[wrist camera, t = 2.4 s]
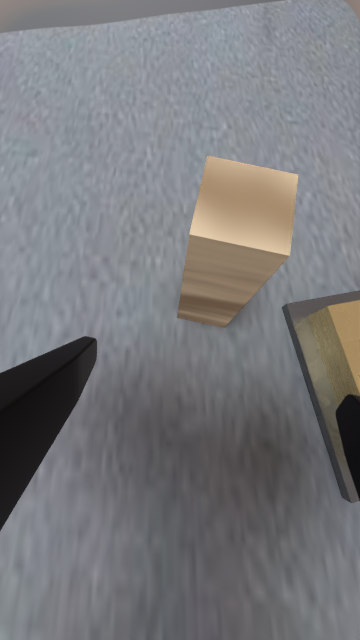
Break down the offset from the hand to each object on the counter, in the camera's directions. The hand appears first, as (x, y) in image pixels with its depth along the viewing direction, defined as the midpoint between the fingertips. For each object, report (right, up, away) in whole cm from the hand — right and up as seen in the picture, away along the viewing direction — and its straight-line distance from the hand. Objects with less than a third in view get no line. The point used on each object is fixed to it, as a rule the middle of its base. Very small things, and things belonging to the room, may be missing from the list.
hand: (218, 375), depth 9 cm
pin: (+1, +4, +15) cm, 15 cm away
